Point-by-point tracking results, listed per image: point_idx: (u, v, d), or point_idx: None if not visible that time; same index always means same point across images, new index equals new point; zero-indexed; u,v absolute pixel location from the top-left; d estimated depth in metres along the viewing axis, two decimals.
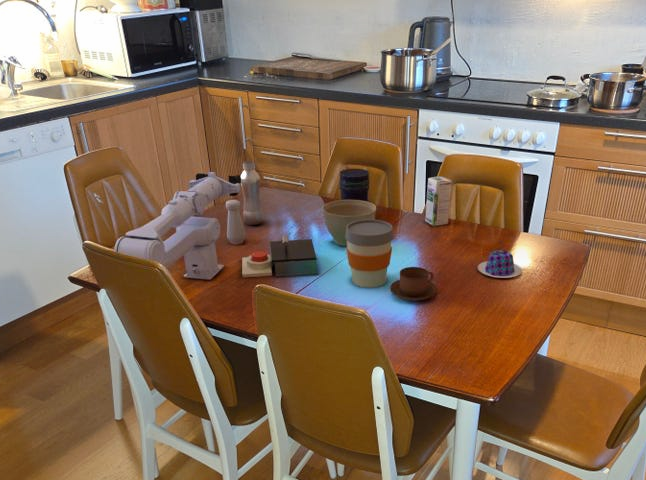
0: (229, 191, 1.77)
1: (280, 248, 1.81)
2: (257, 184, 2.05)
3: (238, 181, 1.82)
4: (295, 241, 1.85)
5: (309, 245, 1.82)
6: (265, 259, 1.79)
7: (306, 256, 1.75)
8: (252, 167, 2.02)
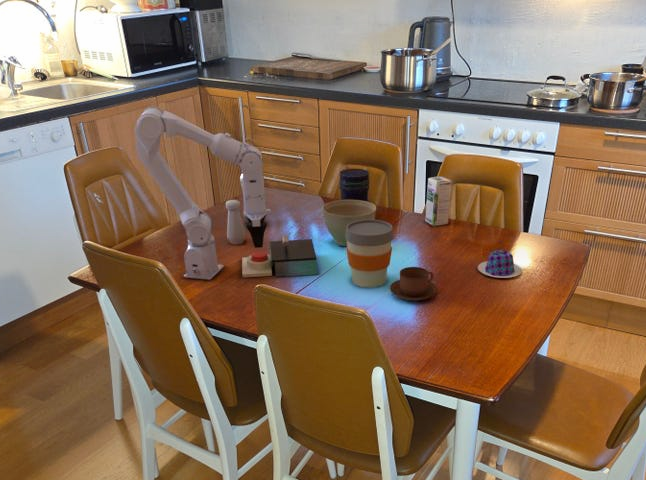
0: (252, 217, 1.69)
1: (280, 248, 1.81)
2: None
3: (257, 241, 1.73)
4: (295, 241, 1.85)
5: (309, 245, 1.82)
6: (265, 259, 1.79)
7: (306, 256, 1.75)
8: None
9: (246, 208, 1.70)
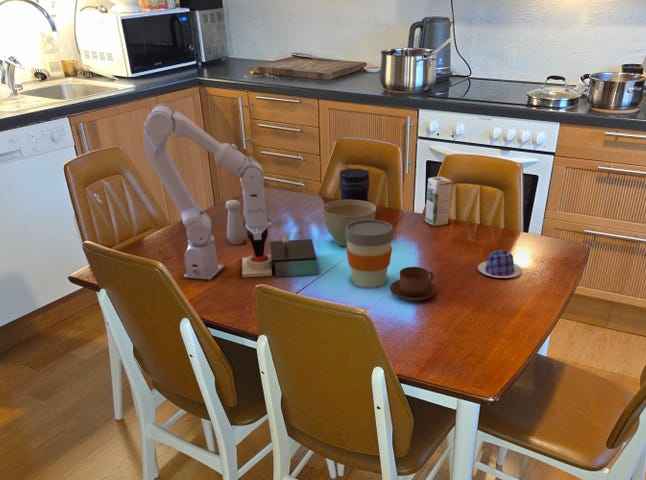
0: (253, 230, 1.71)
1: (280, 248, 1.81)
2: None
3: (258, 250, 1.78)
4: (295, 241, 1.85)
5: (309, 245, 1.82)
6: None
7: (306, 256, 1.75)
8: None
9: (247, 222, 1.72)
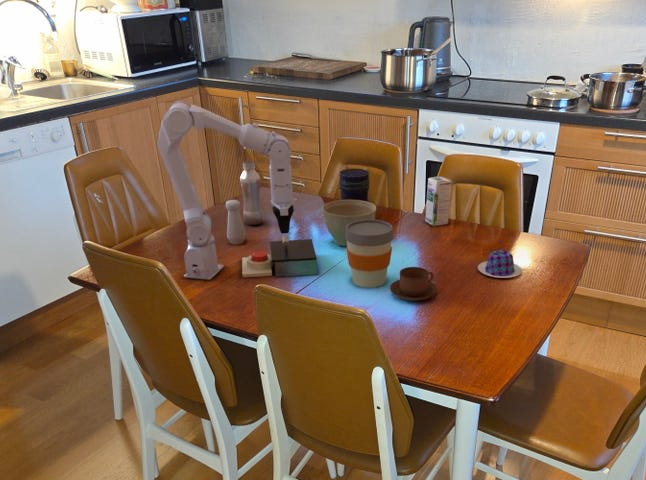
0: (280, 206, 1.68)
1: (280, 248, 1.81)
2: (257, 184, 2.05)
3: (283, 226, 1.75)
4: (295, 241, 1.85)
5: (309, 245, 1.82)
6: (265, 259, 1.79)
7: (306, 256, 1.75)
8: (252, 167, 2.02)
9: (273, 197, 1.70)
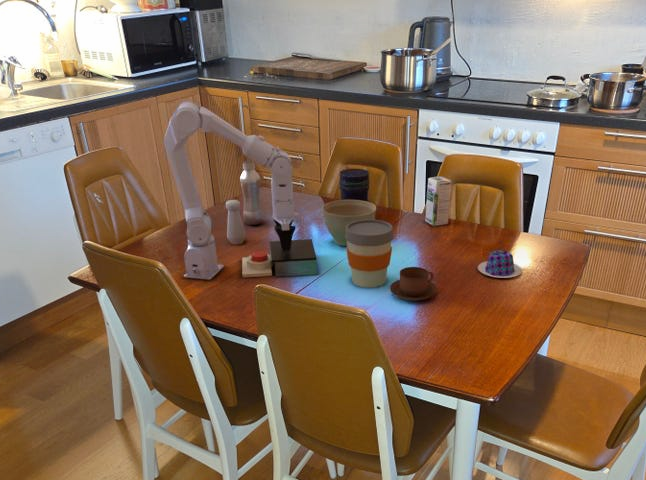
0: (281, 221, 1.70)
1: (280, 248, 1.81)
2: (257, 184, 2.05)
3: (285, 243, 1.75)
4: (295, 241, 1.85)
5: (309, 245, 1.82)
6: (265, 259, 1.79)
7: (306, 256, 1.75)
8: (252, 167, 2.02)
9: (275, 212, 1.72)
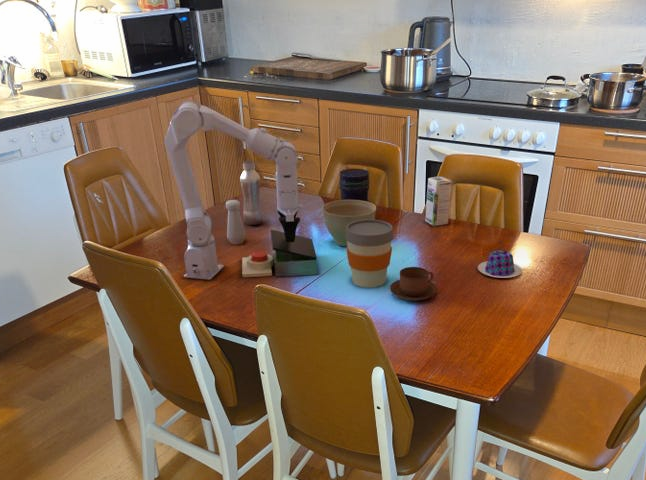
0: (285, 212, 1.69)
1: (281, 238, 1.79)
2: (257, 184, 2.05)
3: (289, 235, 1.74)
4: (296, 236, 1.84)
5: (309, 244, 1.82)
6: (265, 259, 1.79)
7: (307, 254, 1.75)
8: (252, 167, 2.02)
9: (279, 203, 1.71)
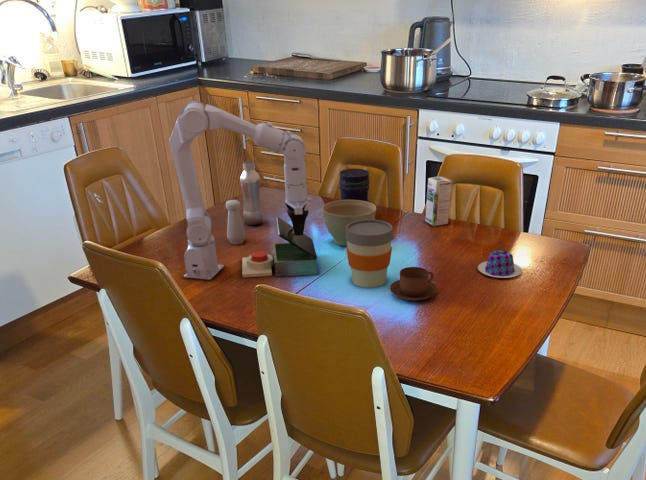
0: (294, 205, 1.69)
1: (286, 228, 1.78)
2: (257, 184, 2.05)
3: (297, 228, 1.74)
4: None
5: (310, 243, 1.82)
6: (265, 259, 1.79)
7: (309, 251, 1.75)
8: (252, 167, 2.02)
9: (288, 196, 1.70)
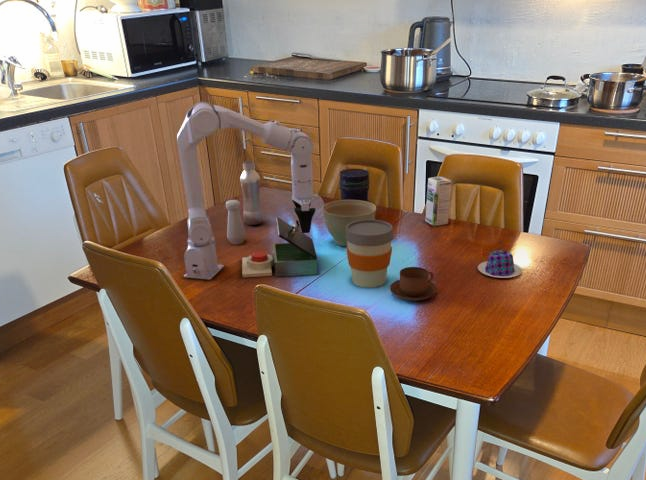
0: (301, 201, 1.72)
1: (286, 228, 1.78)
2: (257, 184, 2.05)
3: (304, 226, 1.76)
4: (298, 231, 1.84)
5: (310, 243, 1.82)
6: (265, 259, 1.79)
7: (309, 251, 1.75)
8: (252, 167, 2.02)
9: (294, 193, 1.73)
